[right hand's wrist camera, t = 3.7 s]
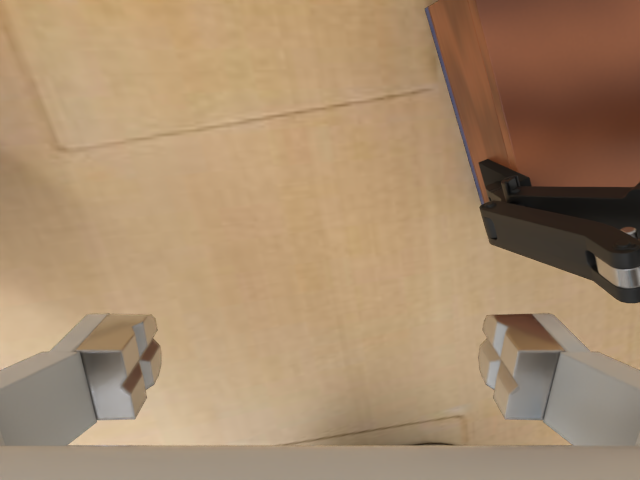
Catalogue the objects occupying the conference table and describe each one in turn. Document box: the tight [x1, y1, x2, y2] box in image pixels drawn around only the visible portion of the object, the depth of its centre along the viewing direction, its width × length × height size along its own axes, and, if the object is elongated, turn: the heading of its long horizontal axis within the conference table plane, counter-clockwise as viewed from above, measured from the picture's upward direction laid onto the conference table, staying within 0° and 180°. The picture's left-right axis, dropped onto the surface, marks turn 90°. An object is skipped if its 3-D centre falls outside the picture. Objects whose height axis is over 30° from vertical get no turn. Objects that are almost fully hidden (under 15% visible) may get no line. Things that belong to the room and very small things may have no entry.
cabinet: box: [425, 0, 640, 204], centre depth 30 cm, size 17×10×10 cm, turn 23°
